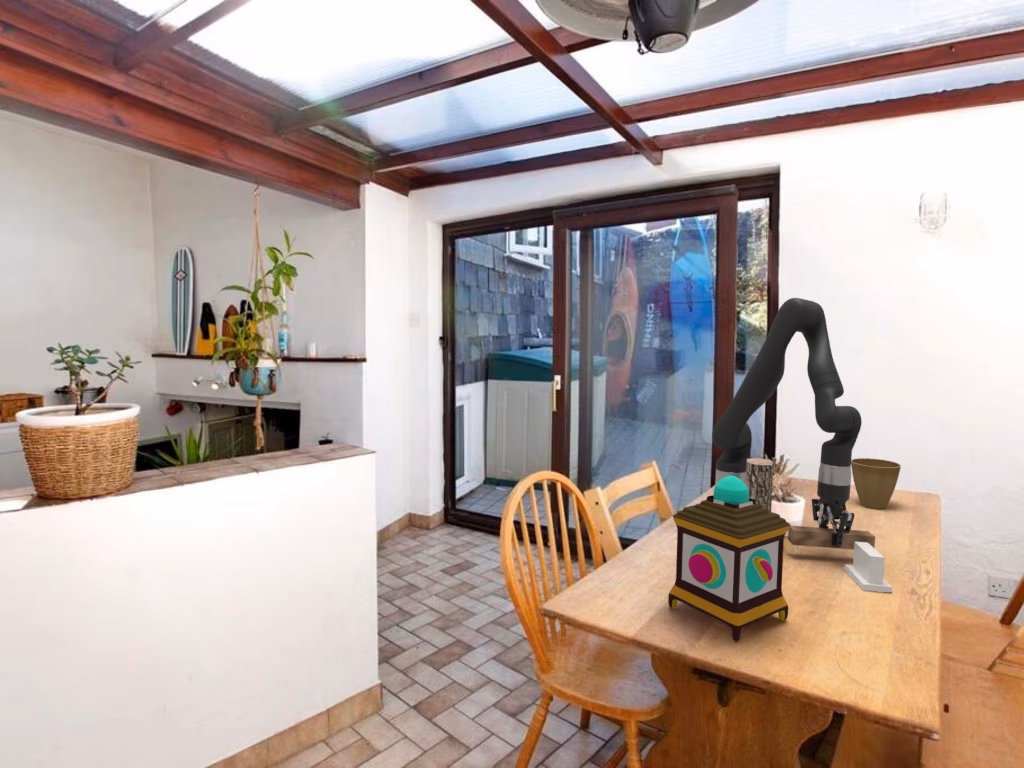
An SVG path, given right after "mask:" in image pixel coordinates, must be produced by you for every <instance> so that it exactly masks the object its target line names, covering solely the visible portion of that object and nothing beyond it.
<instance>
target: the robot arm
mask: <svg viewBox="0 0 1024 768" xmlns="http://www.w3.org/2000/svg"><path fill="white" fill-rule="evenodd" d="M826 319H827V318H826V314H825V311H824V309H823V307H822V306H821V305H820V303H818V302H816V301H815V300H814V301H813V300H809V299H805V298H800V297H791V298H788V299H787V300H785V301H784V302H783V303H782V304H781V306H780V307H779V309H778V311H777V313H776V315H775V317H774V319H773V321H772V324H771V327H770V328H769V331H768V333H767V334H768V335H767V336H766V337H765V341H764V342H763V343H762V346H761V348H760V350H759V352H758V354H757V355H756V357H755V360H754V361H753V363H752V364H751V366H750V368H749V369H748V370H747V373H746V375H745V377H744V378H743V380H742V383H741V384H740V386H739V388H738V390H737V392H736V393H735V394H734V397H733V399H732V401H731V403H730V404H729V406H728V407H727V408H726V410H725V412H723V414H722V416H721V417H720V418H719V420H718V421H717V422H716V424H715V425H714V428H713V431H712V442H713V444H714V445H715V447H716V448H718V449H720V450H723V452H722V454H721V455H720V456H719V457H718V459H716V462H715V463H716V464H715V485H716V484H717V483H718V482H719V481H720V480H721V479H723V478H724V477H727V476H735V477H737V478H739V479H740V480H741V481H742V482H743V483H744V484H745V485H746V467H747V459H750V458H751V452H752V443H753V442H752V441H753V437H752V431H751V430H752V429H751V427H750V425H749V423H748V421H749V420H750V419H751V417H752V415H754V413H756V412H757V410H759V409H760V408H761V407H762V406H763V405H764V404H765V403H766V402H767V401H768V400H769V399H770V398H771V397H772V396H773V394H774V392H775V391H776V390H777V387H778V386H779V385H780V384H781V383H780V382H781V381H782V379H783V376H784V373H785V367H786V353H787V348H788V346H789V344H790V343H791V340H792V339H793V337H794V336H795V334H796V333H801V334H802V336H803V338H804V339H805V342H806V344H807V347H808V357H807V366H806V367H807V368H806V371H807V376H808V379H809V383H810V385H811V389H812V391H813V394H814V413H815V414H814V415H815V417H814V418H815V421H816V424H817V425H818V427H819V428H820V429H821V430H822V431H823V432H825V433H829V434H834V435H833V437H832V438H830V439H829V440H826V441H824V442H823V443H822V444H821V450H820V463H819V467H818V477H817V486H816V487H817V489H816V496H817V497H819V498H812V499H811V507H812V508H811V509H812V519H813V521H814V522H816V523H817V525H818V528H829V526H828V525H829V524H830V525H832V529H833V532H834V533H833V536H832V546H834V547H841V545H842V538H843V534H844V533H850V530H852V526H853V523H854V520H855V513H854V512H850V511H848V510H847V506H846V503H847V502H848V501H849V500H850V495H851V485H852V484H851V482H852V466H851V460H852V457H853V456H852V453H853V449H854V447H855V444H856V442H857V439H858V436H859V434H860V431H861V428H862V424H863V423H862V421H863V420H862V416H861V413H860V412H859V410H858V409H857V408H856V407H854V406H851V405H836V400H837V399H839V398H841V397H842V396H843V395H844V392H845V390H844V386H843V385H844V384H843V383H842V380H841V377H840V375H839V372H838V370H837V366H836V363H835V360H834V358H833V357H834V356H833V353H832V349H831V342H830V338H829V332H828V325H827V320H826ZM715 485H714V486H715Z"/></svg>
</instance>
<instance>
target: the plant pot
mask: <svg viewBox="0 0 1024 768" xmlns="http://www.w3.org/2000/svg"><path fill="white" fill-rule="evenodd" d="M901 467H902V465H901V463H898V462H895V461H891V460H886V459H881V458H868V457H867V458H858V457H857V458H853V459H852V458H851V475H852V478H853V483H854V487H855V490H856V493H857V494H856V495H857V496H858V500H859V503H860V505H861V506H862V507H865V508H868V509H872V510H885V509H886V508H887V506H888V504H889V502H890V500H891V498H892V496H893V495H894V492H895V489H896V485H897V483H898V480H899V476H900V473H901V472H900V471H901Z"/></svg>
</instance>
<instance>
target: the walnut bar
mask: <svg viewBox="0 0 1024 768" xmlns="http://www.w3.org/2000/svg"><path fill="white" fill-rule="evenodd" d="M833 533H834V532H833V528H829V527H828V528H819V526H818V527H817V526H814V527H813V526H804V525H802V526H800V525H791V524H790V527H789V529H788V531H787V541H789V543H790V544H791V545H792V546H802V547H815V548H828V549H840V550H841V549H842V550H852V551H854V542H867V543H869V544H870V545H871V546H872V547H873V548H874V549H875V547H876V545H875V544H876V543H875V542H876V536H875V535H874V534H873V533H871V532H870V531H869V530H858V529H857V530H856V529H851V530H850V533H844V534H843V538H842V545H841V547H834V546H832V536H833Z"/></svg>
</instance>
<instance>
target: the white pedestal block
mask: <svg viewBox="0 0 1024 768" xmlns="http://www.w3.org/2000/svg"><path fill="white" fill-rule="evenodd" d="M885 558H886V557H885V556H883V555H882V554H881V553H880V552H879V551H878V549H875V547H874V548H873V547H872V546H871V545H870V544H869V543H867V542H854V550H853V559H852V564H846V563H845V564H844V572H846V573H847V575H849V577H850V578H851V579H852V581H854V582H855V584H856V585H857V586H858V587H859V588H860V589H861V590H862V591H863V590H864V591H865V592H874V591H877V593H884V592H892V593H893V586H892V585H891V584H889V582H888V581H887V580H886V579H885V576H884V575H885V574H884V573H885V560H886V559H885Z"/></svg>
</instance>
